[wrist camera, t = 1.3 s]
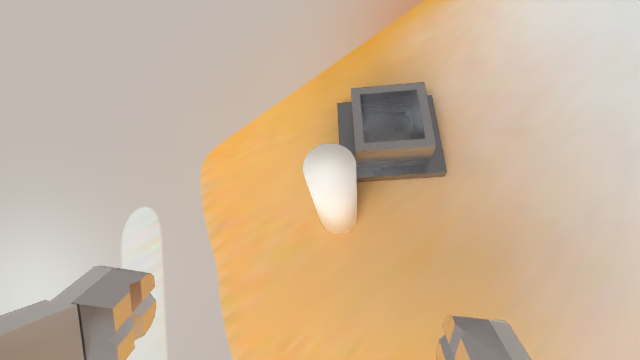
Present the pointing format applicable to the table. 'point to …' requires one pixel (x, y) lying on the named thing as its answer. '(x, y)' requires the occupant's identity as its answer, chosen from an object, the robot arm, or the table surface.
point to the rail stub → (333, 186)
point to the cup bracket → (392, 132)
